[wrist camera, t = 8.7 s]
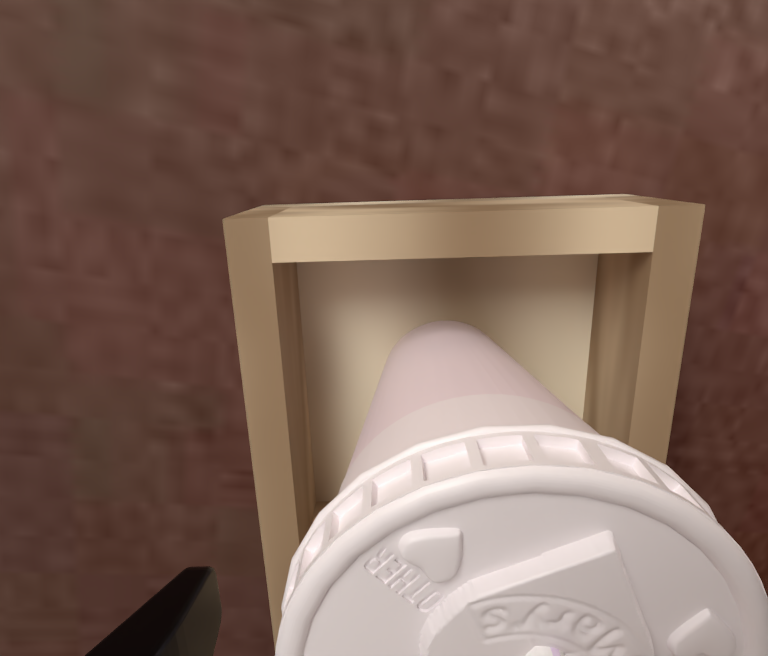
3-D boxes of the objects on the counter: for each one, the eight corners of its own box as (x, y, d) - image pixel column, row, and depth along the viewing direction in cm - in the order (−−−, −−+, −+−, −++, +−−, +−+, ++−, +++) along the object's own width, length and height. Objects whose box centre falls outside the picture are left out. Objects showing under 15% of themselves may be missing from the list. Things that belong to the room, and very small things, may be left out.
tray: (312, 705, 21) (296, 823, 17) (264, 205, 15) (222, 219, 11) (570, 701, 21) (610, 820, 17) (624, 194, 15) (705, 204, 11)
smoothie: (587, 320, 15) (2061, 1495, 2) (496, 495, 17) (891, 1716, 4) (382, 242, 14) (303, 1177, 1) (310, 433, 16) (-34, 1633, 3)
